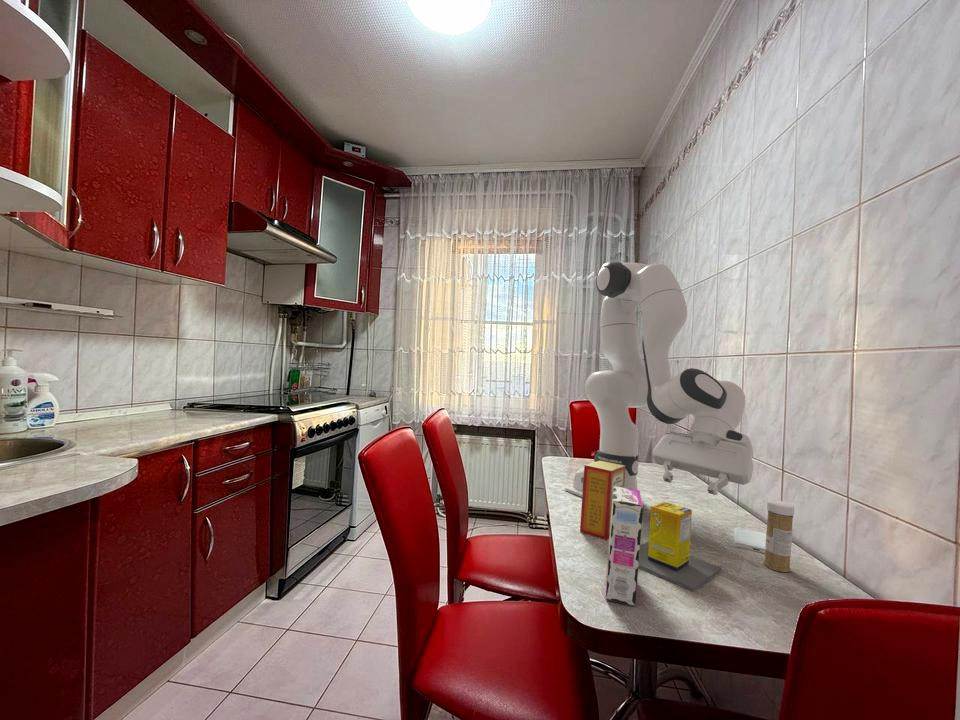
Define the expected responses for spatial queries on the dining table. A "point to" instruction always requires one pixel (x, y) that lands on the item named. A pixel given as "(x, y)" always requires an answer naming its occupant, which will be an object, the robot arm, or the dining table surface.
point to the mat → (686, 576)
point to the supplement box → (669, 535)
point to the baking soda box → (599, 496)
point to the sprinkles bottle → (779, 535)
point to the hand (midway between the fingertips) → (688, 486)
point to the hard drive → (750, 539)
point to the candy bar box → (624, 546)
